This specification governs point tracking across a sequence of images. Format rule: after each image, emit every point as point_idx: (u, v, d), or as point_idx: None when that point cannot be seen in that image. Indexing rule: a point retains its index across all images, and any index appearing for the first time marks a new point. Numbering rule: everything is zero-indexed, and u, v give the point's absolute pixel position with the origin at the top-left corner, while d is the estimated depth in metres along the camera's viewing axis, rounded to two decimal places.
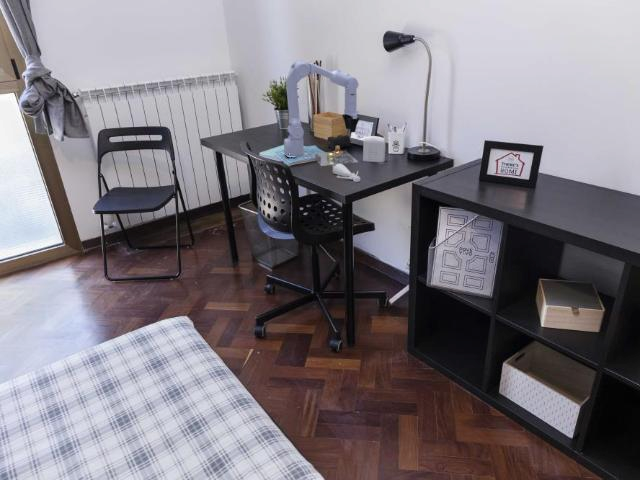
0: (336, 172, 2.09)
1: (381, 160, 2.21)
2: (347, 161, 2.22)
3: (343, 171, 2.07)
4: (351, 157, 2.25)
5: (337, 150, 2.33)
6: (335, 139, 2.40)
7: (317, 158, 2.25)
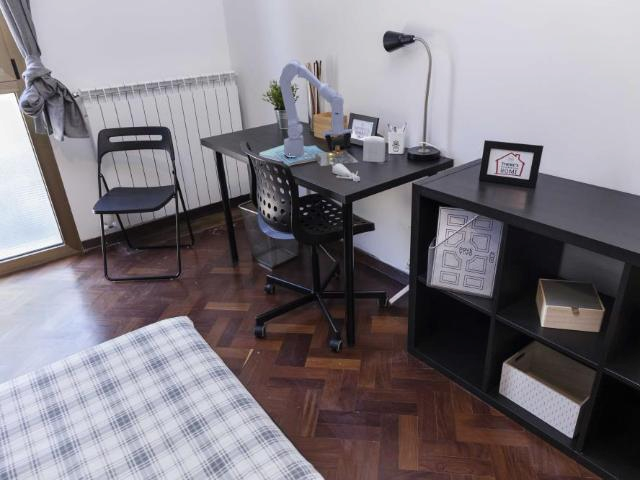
0: (336, 172, 2.10)
1: (381, 160, 2.21)
2: (347, 161, 2.22)
3: (343, 171, 2.07)
4: (351, 157, 2.25)
5: (337, 150, 2.33)
6: (335, 139, 2.40)
7: (317, 158, 2.25)
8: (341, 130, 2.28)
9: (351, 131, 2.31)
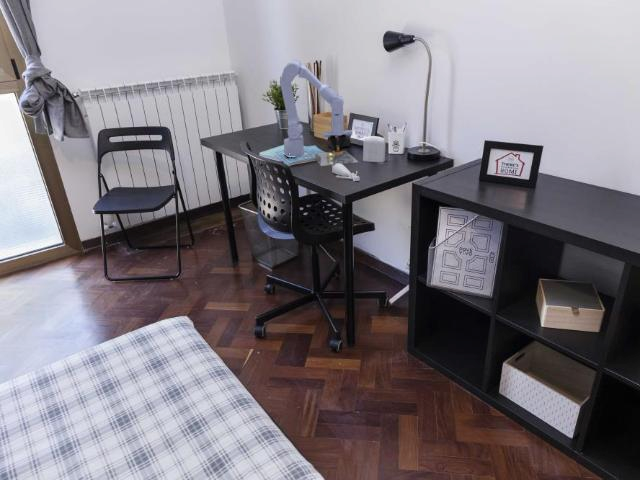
0: (335, 172, 2.10)
1: (381, 160, 2.21)
2: (347, 161, 2.22)
3: (342, 171, 2.07)
4: (351, 157, 2.25)
5: (337, 150, 2.33)
6: None
7: (317, 158, 2.25)
8: (341, 131, 2.28)
9: (351, 132, 2.31)
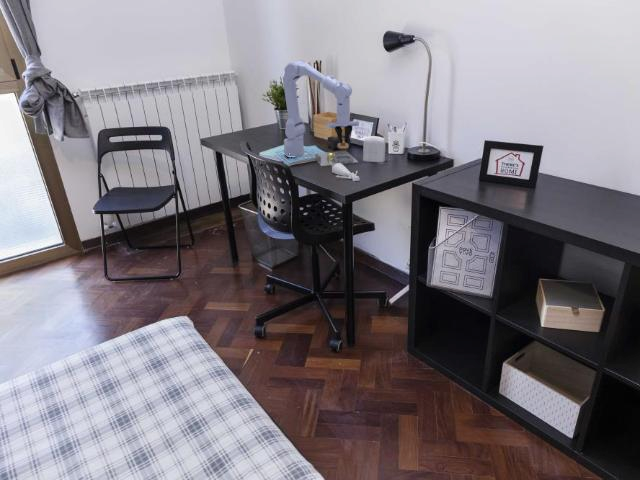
0: (335, 172, 2.10)
1: (381, 160, 2.21)
2: (347, 161, 2.22)
3: (342, 171, 2.07)
4: (351, 157, 2.25)
5: (342, 143, 2.22)
6: (335, 139, 2.40)
7: (317, 158, 2.25)
8: (347, 122, 2.16)
9: (357, 123, 2.19)
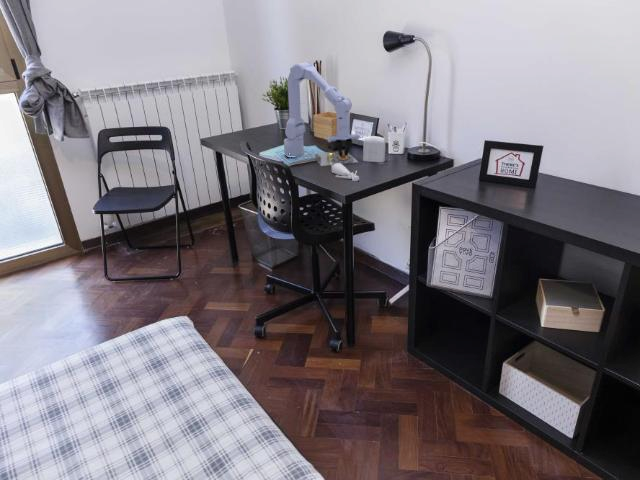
0: (335, 171, 2.10)
1: (381, 160, 2.21)
2: (347, 161, 2.22)
3: (342, 170, 2.07)
4: (351, 157, 2.25)
5: (342, 156, 2.24)
6: None
7: (317, 158, 2.25)
8: (347, 135, 2.18)
9: (357, 136, 2.22)
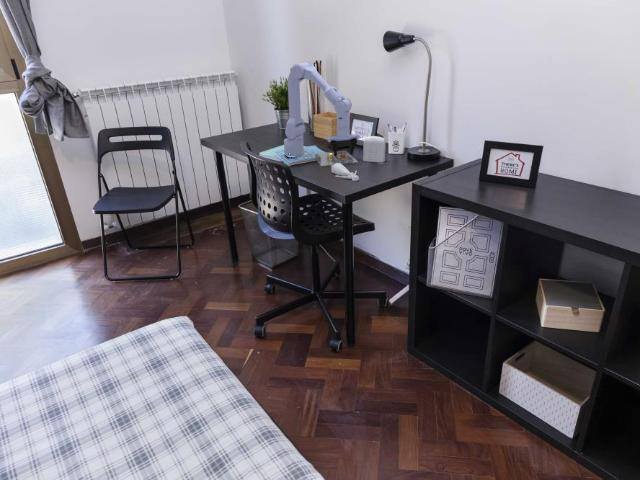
0: (335, 171, 2.10)
1: (381, 160, 2.21)
2: (347, 161, 2.22)
3: (342, 170, 2.08)
4: (351, 157, 2.25)
5: (342, 156, 2.24)
6: None
7: (317, 158, 2.25)
8: (347, 135, 2.18)
9: (357, 136, 2.22)
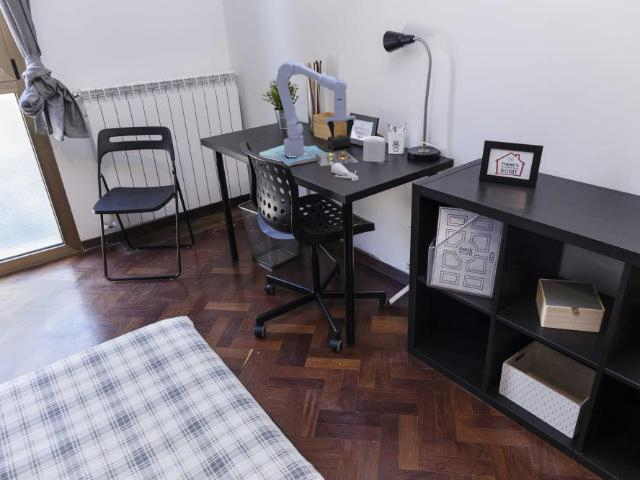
0: (334, 171, 2.10)
1: (381, 160, 2.21)
2: (347, 161, 2.22)
3: (341, 170, 2.08)
4: (351, 157, 2.25)
5: (342, 156, 2.24)
6: (335, 139, 2.40)
7: (317, 158, 2.25)
8: (344, 116, 2.24)
9: (354, 118, 2.27)
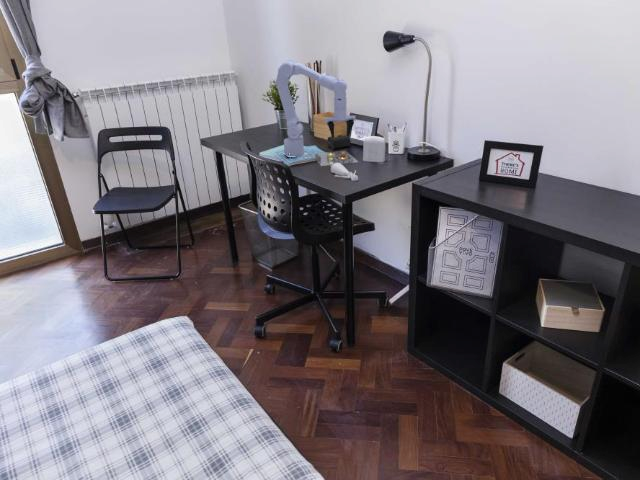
0: (334, 171, 2.11)
1: (381, 160, 2.21)
2: (347, 161, 2.22)
3: (341, 170, 2.08)
4: (351, 157, 2.25)
5: (342, 156, 2.24)
6: (335, 139, 2.40)
7: (317, 158, 2.25)
8: (344, 116, 2.24)
9: (354, 118, 2.27)
